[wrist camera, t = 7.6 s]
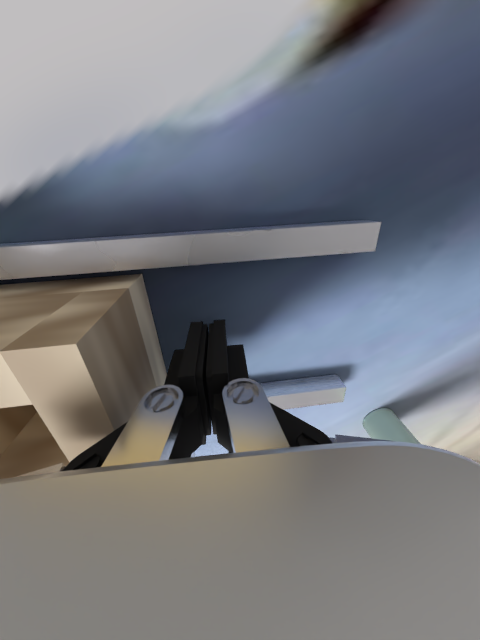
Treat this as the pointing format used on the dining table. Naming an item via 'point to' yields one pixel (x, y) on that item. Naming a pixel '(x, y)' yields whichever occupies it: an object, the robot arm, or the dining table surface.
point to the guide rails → (198, 251)
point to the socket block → (71, 366)
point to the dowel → (387, 427)
